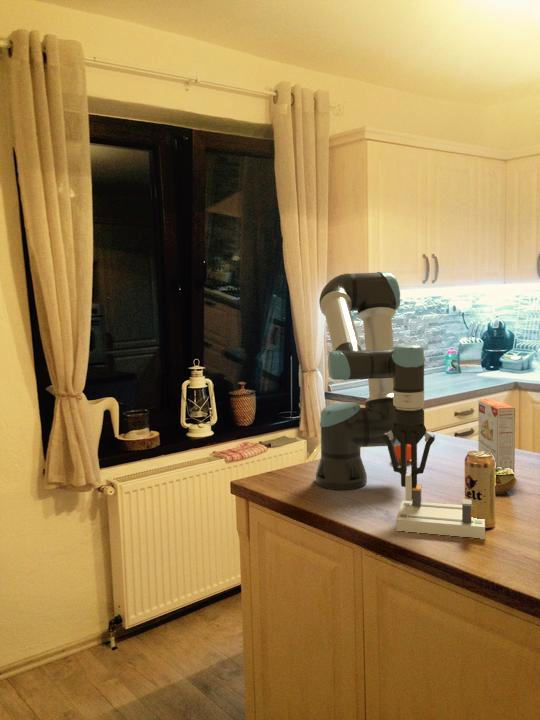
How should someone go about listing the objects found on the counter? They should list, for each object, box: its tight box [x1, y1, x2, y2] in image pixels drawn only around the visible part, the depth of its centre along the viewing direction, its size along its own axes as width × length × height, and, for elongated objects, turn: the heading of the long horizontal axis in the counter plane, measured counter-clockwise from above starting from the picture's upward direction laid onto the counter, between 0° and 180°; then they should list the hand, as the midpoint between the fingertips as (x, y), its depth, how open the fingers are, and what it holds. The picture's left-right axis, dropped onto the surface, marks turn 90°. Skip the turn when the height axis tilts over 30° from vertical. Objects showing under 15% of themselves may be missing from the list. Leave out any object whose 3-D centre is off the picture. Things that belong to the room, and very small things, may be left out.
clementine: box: [394, 444, 411, 462], centre depth 206 cm, size 8×7×7 cm
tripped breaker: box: [412, 484, 423, 506], centre depth 158 cm, size 2×3×4 cm
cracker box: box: [477, 398, 516, 473], centre depth 193 cm, size 14×6×21 cm, turn 4°
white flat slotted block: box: [395, 500, 486, 540], centre depth 153 cm, size 20×13×3 cm, turn 72°
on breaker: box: [461, 498, 473, 522], centre depth 147 cm, size 2×3×4 cm
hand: (409, 499), depth 159 cm, fingers closed
